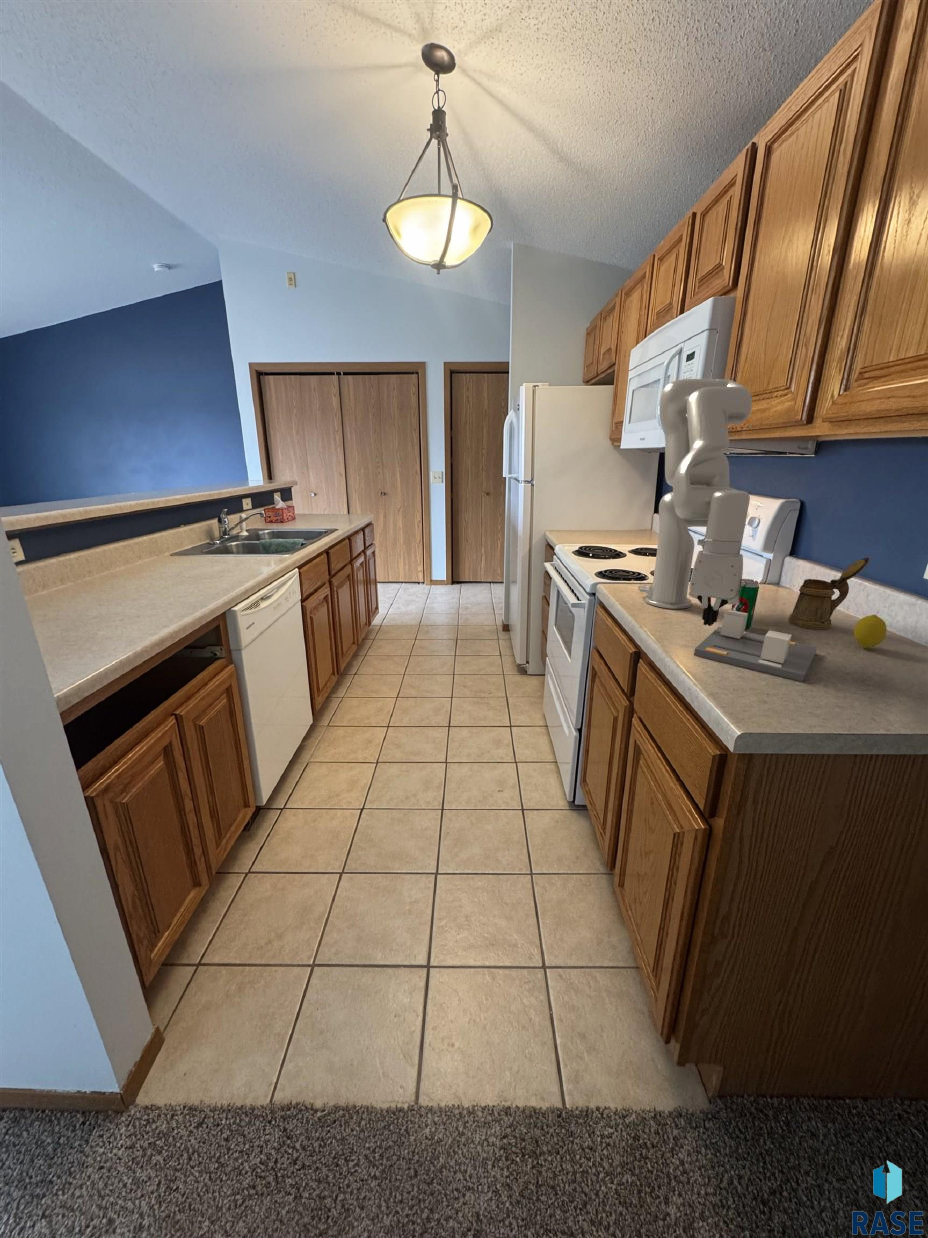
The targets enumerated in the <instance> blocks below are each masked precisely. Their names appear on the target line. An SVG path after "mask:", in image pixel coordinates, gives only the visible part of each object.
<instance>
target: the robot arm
mask: <svg viewBox="0 0 928 1238" xmlns="http://www.w3.org/2000/svg"><path fill="white" fill-rule="evenodd" d="M659 398H660V400H659V408H658V410H659V419H660V422H661V423H660V424H661V427H662V430H663V433H664V442H665V446H664V447H665V448H664V449H665V450H664V451H665V452H664V475H665V482H666V483H667V484H668V486H671V487H672V491H671V492H668V493H666V494H664V495H663V496H662V498H660V501H659V504H658V520H659V521H658V523H659V525H658V527H659V528H658V529H659V530H658V541H657V548H656V556H655V564H654V571H653V579H652V584H650V585H647V584H644V583H643V584H642V583H639V585H638V589H637V590H639V592H640V593H646V594H647V595H646V596H645V597H644V598H645V599H644V600H645V602H646V603H647V604H649V605H651V606H653V607H658V608H662V609H663V608H664V609H673V610H674V609H675V610H676V609H677V610H678V609H679V610H681V609H687V608H690V607H691V606H692V604H693V603H692V601H693V600H692V599H690V598H689V597H691V598H694V599H696V600H697V601H698V602H699V603H700V604H701V606H702V608H703V610H702V616H701V620H703V623H702V624H703V625H704V626H709V627H711V626H713V625H714V624H715V623H717V622H718V619H719V612H720V609H722V607H724V606H726V605H732V604H737V603H739V593H740V590H741V584H742V579H743V575H744V573H743V572H744V556H743V554H742V553H741V550H742V544H743V540H744V533H745V530H746V523H747V517H748V514H749V505H750V502H751V496H750V494H749V493H748V492H747V491H745V490H738V489H736V488H734V487H730V464H729V460H728V457H727V456H726V454H725V452H726V451H727V450H728V448H729V446H730V438H729V430H728V429H729V428H728V425H739V424H742V423H745V421H746V420H747V419H748V418H749V416H750V414H751V412H752V408H753V399H752V393H750V390H749V389H748V388H747V387H746V386H744V385H742V384H740V383H738V382H736V381H734V380H732V379H728V378H727V379H726V378H687V379H686V378H684V379H677V380H673V381H671V382H669V383H668V384H666V385H665V387H663V389H662V391H661V395H660V397H659ZM699 527H700V528H706V529H705V535H704V536H705V537H704V538H701V539H698V540H697V543H696V544H697V546H700V547H701V548H702V550H698V552H697V555H696V558H695V561H694V565H692V564H693V559H694V551H695V540H694V537H693V536H692V535H691V533H690V531H689V530H688V528H699ZM692 566H693V568H692ZM691 571H692V572H691ZM688 596H689V597H688ZM712 598H713V599H715V600H714V603H713V604H712Z"/></svg>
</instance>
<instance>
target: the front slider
mask: <svg viewBox="0 0 928 1238" xmlns="http://www.w3.org/2000/svg"><path fill="white" fill-rule="evenodd" d="M764 636H765V639H764V644H763V648H762V653H761V659H765V660H770V661H774V662H778V663H782V664H783V663H784V661H785V659H786V658H787V654H788V649H789V645H790V641H791V640H792V636H793V635H792V634H791V633H790V634H789V633H784V632H779V631H775V630H768V631H767V632H766V634H765V635H764ZM791 642H792V641H791Z"/></svg>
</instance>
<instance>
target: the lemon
mask: <svg viewBox="0 0 928 1238" xmlns="http://www.w3.org/2000/svg"><path fill="white" fill-rule="evenodd" d="M887 629H888V628H887V623H886V622H885V620H883V618H881V617H880V616H878V615H877V614H871V615H867V616H864V617H862V618H860V619H859V620H858V621H857V623H856V624H855V626H854V628H853V637H854V640H855V641H856V643H857V644H859V645H861V647H862V648H863V649H869V648H872V647H875V646H878V645H880V644H881V643H882V642H884V640H885V638H886V635H887Z"/></svg>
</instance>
